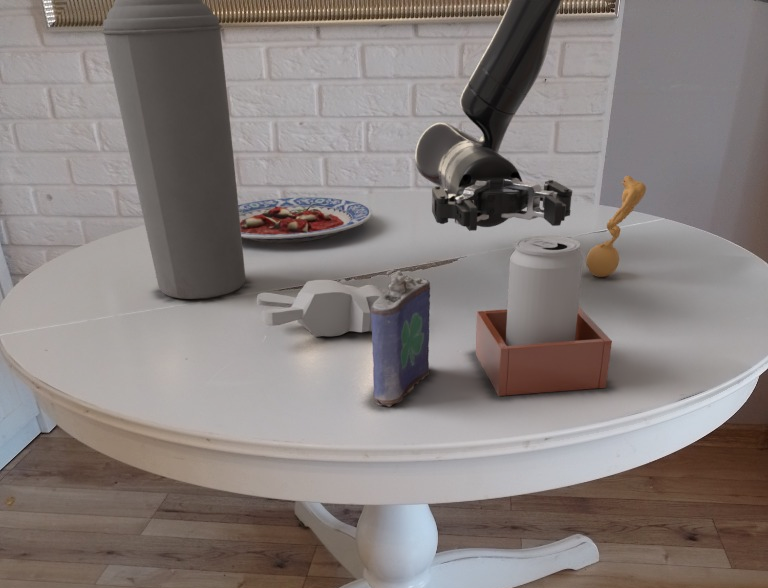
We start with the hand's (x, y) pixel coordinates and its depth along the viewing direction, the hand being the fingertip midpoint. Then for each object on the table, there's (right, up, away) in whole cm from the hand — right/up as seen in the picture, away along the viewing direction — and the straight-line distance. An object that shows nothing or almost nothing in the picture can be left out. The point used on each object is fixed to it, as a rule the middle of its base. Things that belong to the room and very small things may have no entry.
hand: (516, 217), depth 78 cm
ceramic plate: (-28, +15, +47) cm, 57 cm away
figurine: (+15, 0, +21) cm, 26 cm away
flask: (-12, -18, -4) cm, 21 cm away
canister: (-36, -1, +23) cm, 43 cm away
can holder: (+2, -15, -2) cm, 16 cm away
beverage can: (+2, -16, -2) cm, 16 cm away
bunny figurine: (-19, -9, +9) cm, 23 cm away
